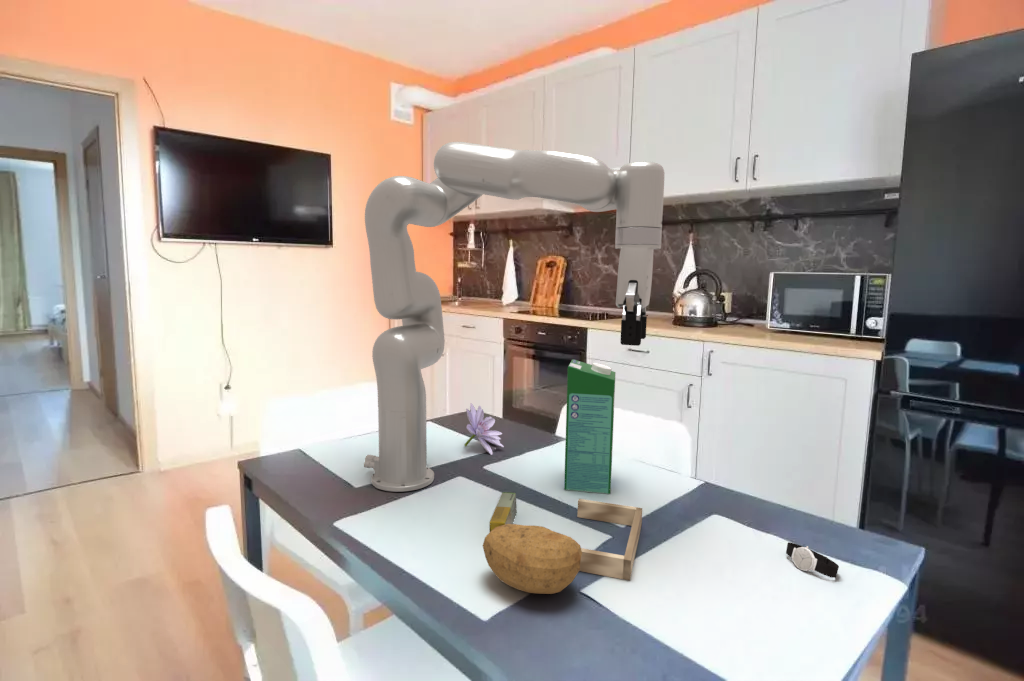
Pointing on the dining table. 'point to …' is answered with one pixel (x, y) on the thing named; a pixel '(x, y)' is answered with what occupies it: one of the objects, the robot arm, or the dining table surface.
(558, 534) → the potato
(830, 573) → the watch
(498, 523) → the medication box
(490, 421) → the water lily
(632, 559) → the u-shaped wooden frame
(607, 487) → the milk carton
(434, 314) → the robot arm
